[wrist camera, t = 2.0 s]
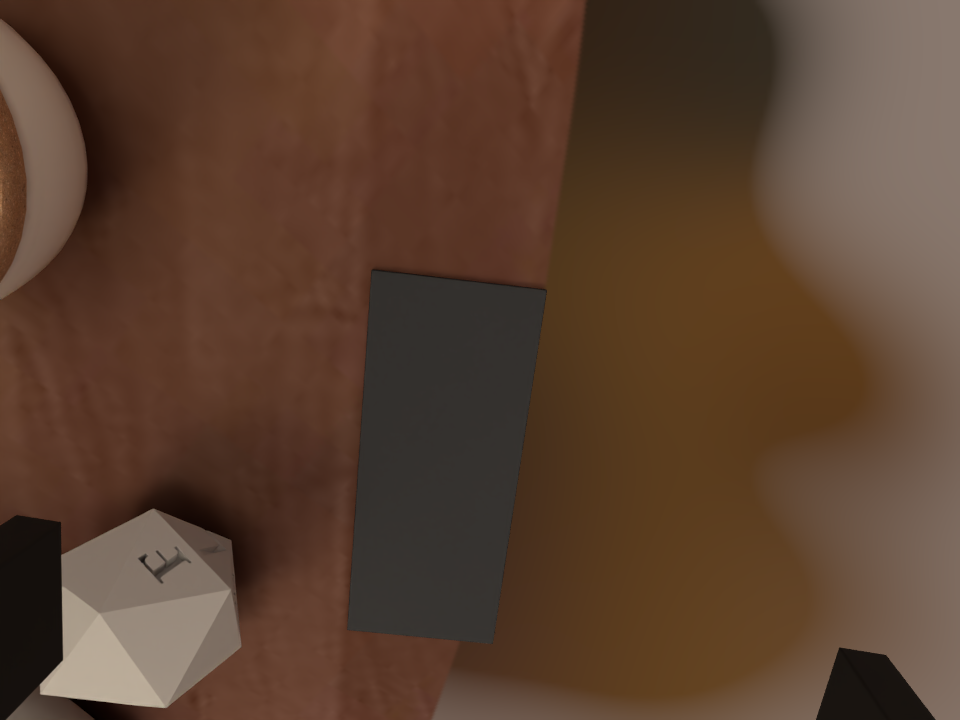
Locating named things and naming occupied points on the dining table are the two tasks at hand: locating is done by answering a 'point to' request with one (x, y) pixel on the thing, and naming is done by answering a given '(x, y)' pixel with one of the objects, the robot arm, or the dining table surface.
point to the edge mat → (440, 452)
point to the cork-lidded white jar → (35, 163)
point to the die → (145, 612)
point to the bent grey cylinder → (48, 708)
